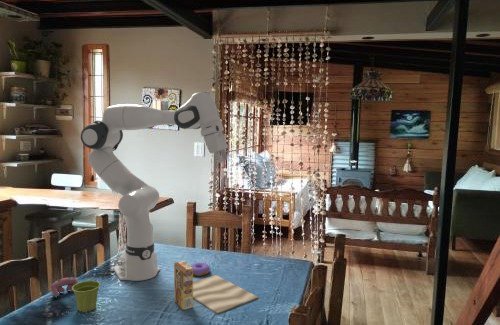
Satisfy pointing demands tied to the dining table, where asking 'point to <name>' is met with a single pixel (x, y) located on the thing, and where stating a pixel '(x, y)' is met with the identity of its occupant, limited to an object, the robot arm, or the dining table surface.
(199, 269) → the donut
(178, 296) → the candy box
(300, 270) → the dining table surface
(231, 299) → the wooden board
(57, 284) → the pink arch
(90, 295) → the plant pot
